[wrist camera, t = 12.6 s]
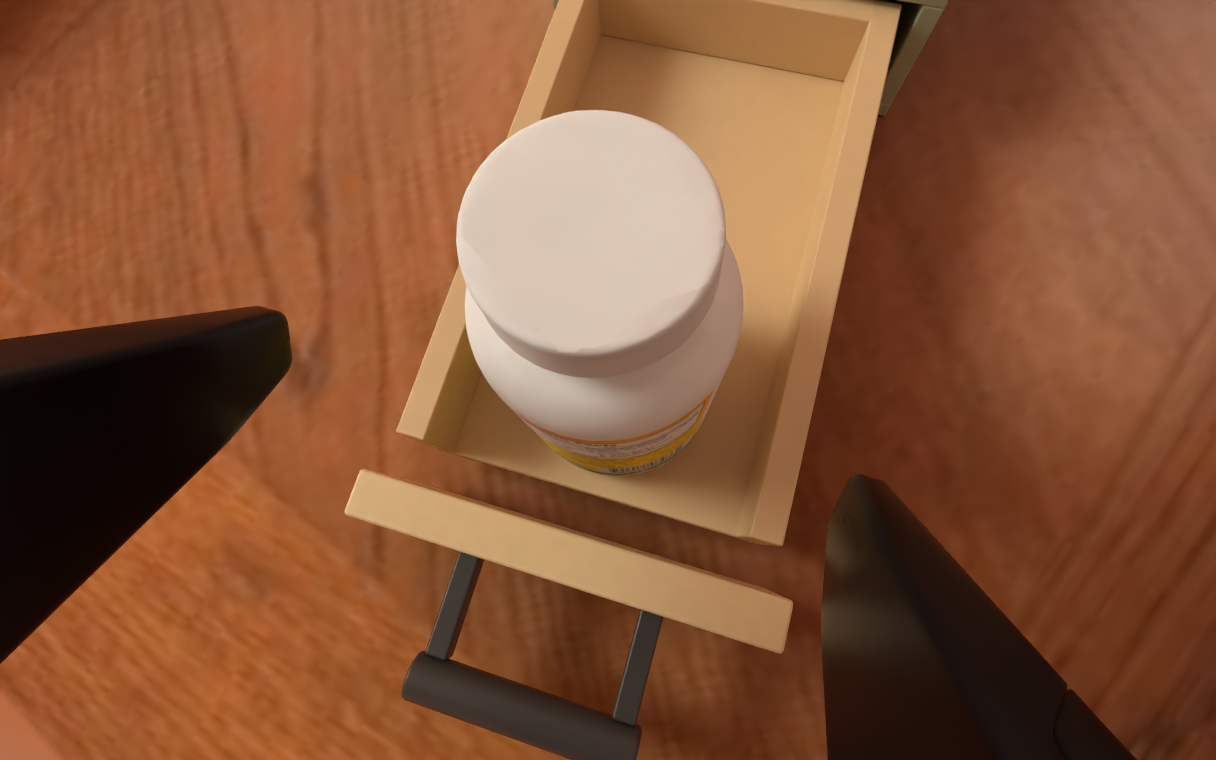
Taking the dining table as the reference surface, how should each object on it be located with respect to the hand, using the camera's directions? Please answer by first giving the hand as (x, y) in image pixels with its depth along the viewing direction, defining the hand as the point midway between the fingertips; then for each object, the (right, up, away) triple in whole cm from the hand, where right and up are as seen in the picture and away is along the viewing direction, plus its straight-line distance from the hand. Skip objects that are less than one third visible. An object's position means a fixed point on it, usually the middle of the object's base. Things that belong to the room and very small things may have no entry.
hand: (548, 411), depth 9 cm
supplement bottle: (+1, 0, +9) cm, 9 cm away
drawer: (+2, +2, +10) cm, 10 cm away
